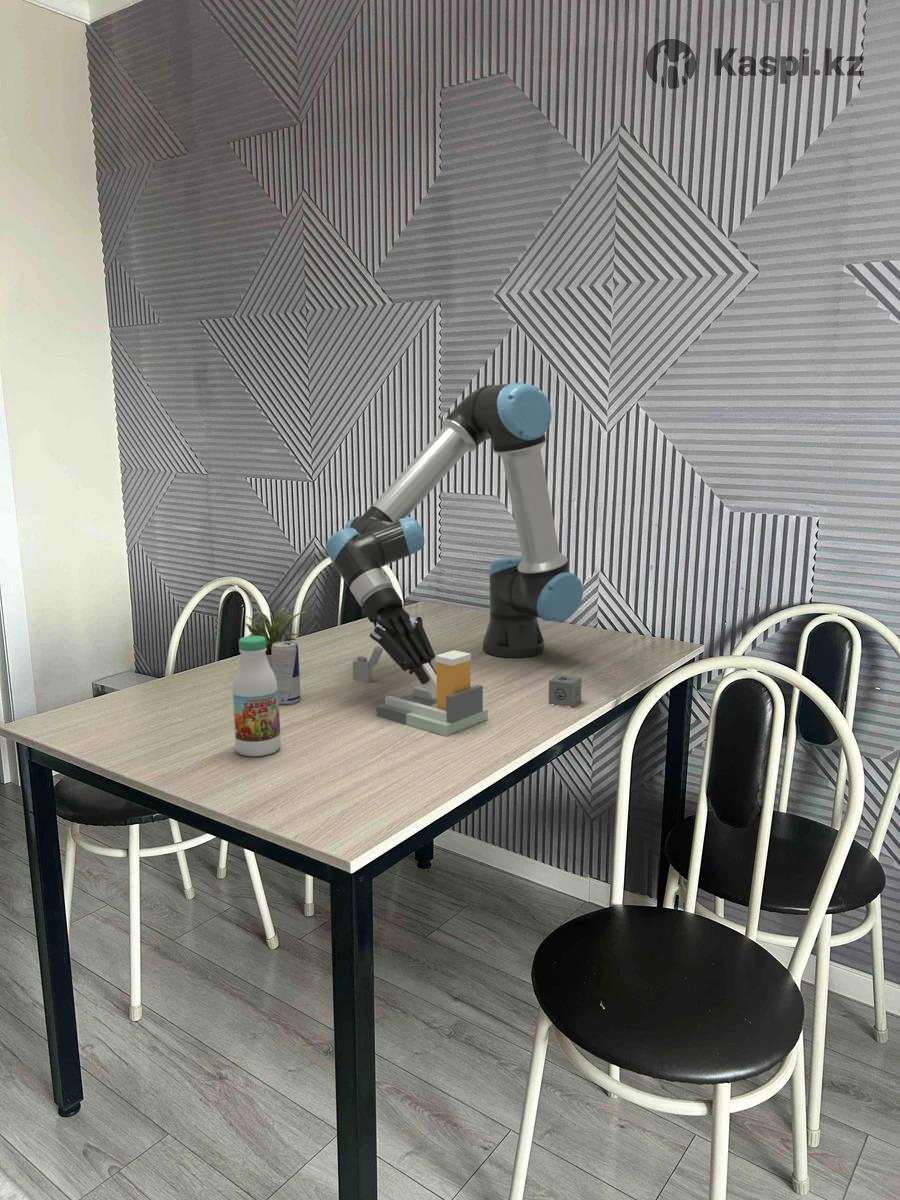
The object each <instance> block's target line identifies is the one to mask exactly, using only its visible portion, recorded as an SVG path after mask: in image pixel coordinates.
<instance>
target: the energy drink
mask: <svg viewBox="0 0 900 1200" xmlns="http://www.w3.org/2000/svg"><path fill="white" fill-rule="evenodd" d="M271 650H272V670H273V673H274V675H275V677H276V681H277V688H278V700H279V705H292V704H296V703H299V702H300V701H301V681H300V679H301V676H300V675H301V674H300V659H299V658H300V657H299V655H300V654H299V646H298V643H297V642H296V641H295V640H291V641H282V640H281V641H280V642H275V643H273V644H272V648H271Z"/></svg>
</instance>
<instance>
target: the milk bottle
mask: <svg viewBox="0 0 900 1200" xmlns="http://www.w3.org/2000/svg"><path fill="white" fill-rule="evenodd" d="M266 645H267V643H266V638H265V637H263V636H249V635H248V636H244V637H241V638H239V639H238V649H239V653H240V659H239V660H240V661H239V664H238V666H237V669H236V672H235V674H234V678H233V682H232V709H233V710H232V712H233V727H234V741H235V742H234V744H235V750H236V752H237V753H238V754H239V755H242V756H246V757H264V756H268V755H272V754H274V753H276V752H277V751H279V750H280V747H281V745H282V743H281V742H282V741H281V721H280V719H281V718H280V704H279V700H278V688H277V681H276V677H275V675H274V673H273V671H272V669H271V667H270V665H269V663H268V660H267V658H266V653H265V652H266V650H267V648H266Z"/></svg>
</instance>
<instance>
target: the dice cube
mask: <svg viewBox="0 0 900 1200" xmlns="http://www.w3.org/2000/svg"><path fill="white" fill-rule="evenodd" d="M582 680H583V679H582V677H580V676H573V675H566V674H557V675H556V676H554V677H553V678H551V679H549V680H548V705H549V704H554V705H553V706H555V705H560V706H559V707H561V705H562V706H570V707H573V706H574V705H576V704H577V703H578V702H579V703H580V701H581V702H582ZM579 703H578V704H579ZM578 704H577V705H578ZM577 705H576V706H577ZM574 707H575V706H574ZM574 707H573V708H574Z"/></svg>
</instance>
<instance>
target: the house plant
mask: <svg viewBox="0 0 900 1200" xmlns="http://www.w3.org/2000/svg"><path fill="white" fill-rule="evenodd" d="M285 609H286V606H285V607H283V608H281V609H280V610H279V611H278V613H277V615H276V617H275V619H274V617H273V614H272V611H271V610H270V609H268V612H269V614H270V615H269V616H270V617H269V618H268V616H267V615H266V614H264V613H263V612H261V611H260V610H258V609H256V610H255V611H256V612H257V613H258V614H259V616H260V617H261V618H262V619H263V621H264V624H265V628H266V630H267V631H266V630H265V629H264V627H262V626H261V625H260V624H259V623H258V622H257V621H256V620H254V619H253V618H251V617H249V616H247V615H244V618H245V617H246V618H247V619H249V620H250V622H251V623H253V624H254V626H255V627H256V628H257V629H258V630H259V631H260V632H259V631H258V630H257V629H256V628H254V627H253V625H251V624H249V623H246V622H244V625H245V626H246V627H247V629H248V630H249V632H250V633H252V634H250V635H248V636H263V637H265V638H266V643H267V645H266V648H267V650H266V652H265V653H266V658H267V660H268V663H269V665H270V667H271V669H272V650H271V648H272V644H273V643H275V642H280V641H297V639H296V638H291V637H292V636H298V637H300V636H299V634H297V633H295V632H294V633H289V634H287V635H286V636H285V637H284V638H283V635H284V633H285V631H286V630H287V628H288V627H289V626H290V625H291V624H292V622H293V621H294V620H295V618H296V617H298V616H299V615H301V614H304V613H307V611H302V612H297V613H296V614H295V615H292V614H291V612H290V611H289V612H285V613H284V611H285ZM286 614H287V615H286ZM291 615H292V616H291ZM284 616H285V618H284V620H283V622H282V624H281V621H282V619H283V617H284ZM280 624H281V628H280ZM279 628H280V629H279ZM272 671H273V670H272Z"/></svg>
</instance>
